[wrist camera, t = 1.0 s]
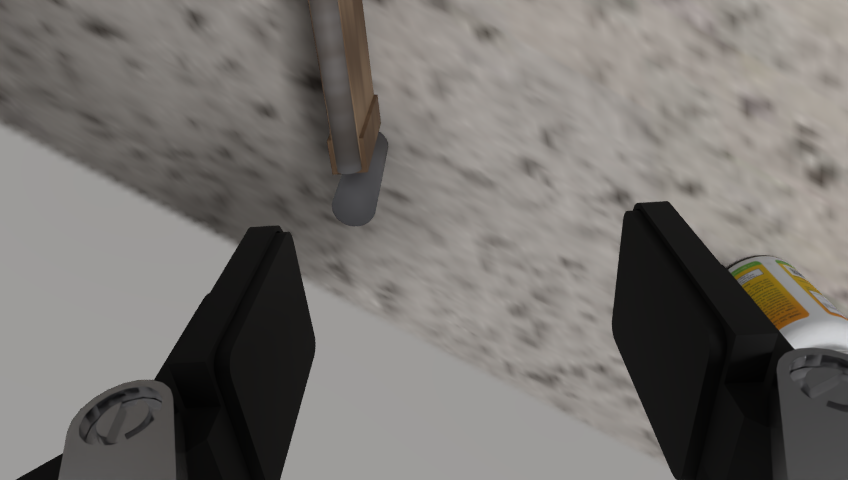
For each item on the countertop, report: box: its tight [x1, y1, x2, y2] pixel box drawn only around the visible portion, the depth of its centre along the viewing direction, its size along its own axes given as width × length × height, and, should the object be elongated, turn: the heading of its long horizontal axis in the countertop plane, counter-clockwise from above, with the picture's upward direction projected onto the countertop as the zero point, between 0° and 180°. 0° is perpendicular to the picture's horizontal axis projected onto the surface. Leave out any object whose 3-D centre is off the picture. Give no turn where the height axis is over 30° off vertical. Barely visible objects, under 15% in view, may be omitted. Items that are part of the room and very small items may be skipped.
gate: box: [308, 0, 381, 175], centre depth 25 cm, size 10×2×8 cm, turn 4°
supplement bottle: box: [728, 256, 848, 354], centre depth 33 cm, size 5×5×10 cm
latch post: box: [332, 132, 388, 226], centre depth 29 cm, size 2×2×8 cm
